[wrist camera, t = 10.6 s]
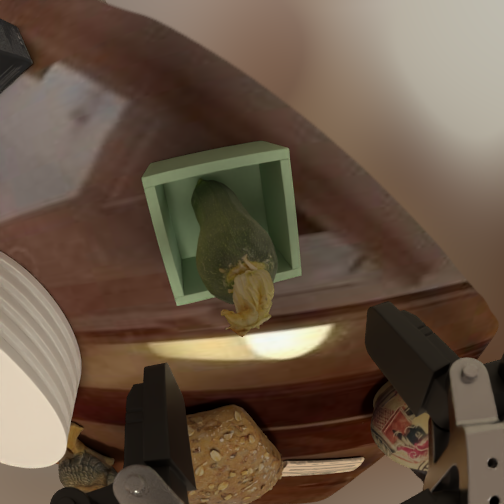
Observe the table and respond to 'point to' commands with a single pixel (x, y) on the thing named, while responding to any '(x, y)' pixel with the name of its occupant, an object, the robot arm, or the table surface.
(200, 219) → the vegetable
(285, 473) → the newspaper
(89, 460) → the figurine
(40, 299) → the plate stack
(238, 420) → the bread
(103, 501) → the robot arm
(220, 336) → the table surface
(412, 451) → the ceramic jug
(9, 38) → the box
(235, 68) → the table surface
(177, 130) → the table surface
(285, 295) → the table surface
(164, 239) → the bin
